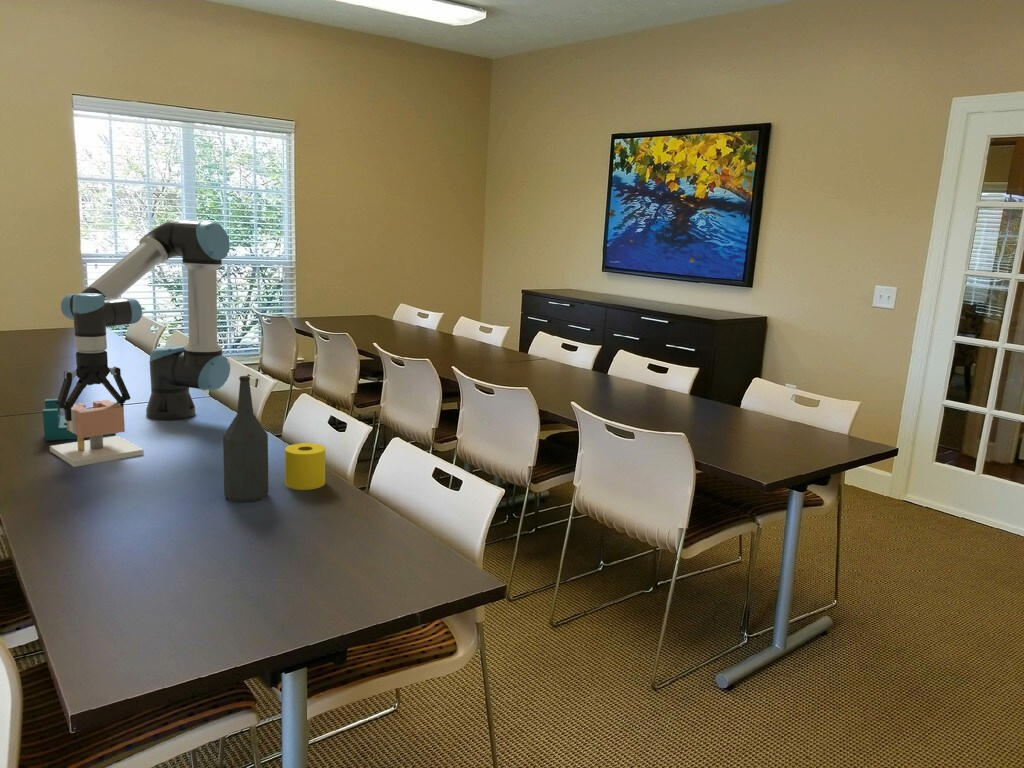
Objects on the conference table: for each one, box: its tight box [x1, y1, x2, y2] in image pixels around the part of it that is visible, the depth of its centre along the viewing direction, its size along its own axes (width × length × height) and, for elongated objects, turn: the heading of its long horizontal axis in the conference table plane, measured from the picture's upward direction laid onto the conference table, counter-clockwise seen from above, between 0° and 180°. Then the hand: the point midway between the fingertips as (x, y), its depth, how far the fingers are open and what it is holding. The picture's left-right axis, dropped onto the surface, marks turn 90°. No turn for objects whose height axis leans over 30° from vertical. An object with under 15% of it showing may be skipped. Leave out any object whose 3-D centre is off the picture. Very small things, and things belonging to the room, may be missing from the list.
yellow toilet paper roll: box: [284, 442, 326, 491], centre depth 198 cm, size 10×10×9 cm
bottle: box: [222, 375, 269, 503], centre depth 185 cm, size 10×10×30 cm
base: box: [49, 435, 145, 468], centre depth 213 cm, size 18×18×8 cm
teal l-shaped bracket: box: [42, 398, 116, 441], centre depth 228 cm, size 18×11×10 cm, turn 117°
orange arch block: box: [67, 399, 126, 439], centre depth 212 cm, size 11×11×7 cm
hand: (95, 428), depth 213 cm, fingers closed on orange arch block, 11 cm apart
